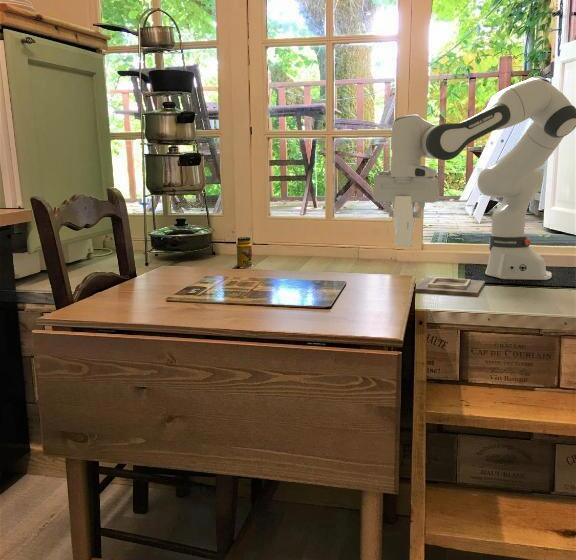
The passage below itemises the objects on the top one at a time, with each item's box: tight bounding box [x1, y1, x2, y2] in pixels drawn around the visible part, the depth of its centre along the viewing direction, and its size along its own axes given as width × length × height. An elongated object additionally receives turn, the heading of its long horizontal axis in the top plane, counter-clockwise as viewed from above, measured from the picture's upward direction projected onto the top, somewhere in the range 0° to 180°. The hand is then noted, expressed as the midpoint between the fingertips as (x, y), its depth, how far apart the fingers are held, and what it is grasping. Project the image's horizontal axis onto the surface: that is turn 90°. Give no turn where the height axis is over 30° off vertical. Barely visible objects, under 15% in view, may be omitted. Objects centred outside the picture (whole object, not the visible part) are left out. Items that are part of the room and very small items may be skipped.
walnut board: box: [415, 276, 486, 297], centre depth 204 cm, size 20×20×2 cm
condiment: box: [232, 236, 255, 269], centre depth 251 cm, size 7×8×12 cm
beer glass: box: [392, 196, 418, 247], centre depth 188 cm, size 7×7×15 cm
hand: (404, 217), depth 188 cm, fingers closed on beer glass, 7 cm apart
